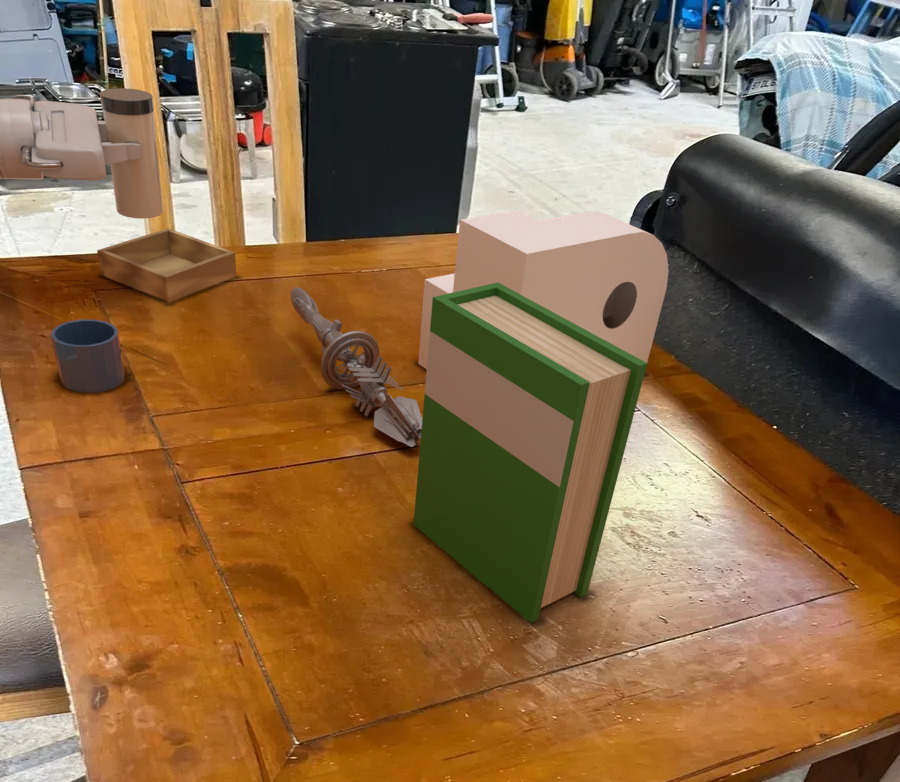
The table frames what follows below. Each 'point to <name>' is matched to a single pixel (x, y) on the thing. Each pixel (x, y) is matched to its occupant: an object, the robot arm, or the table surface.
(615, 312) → the stepped bracket block
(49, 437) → the table surface
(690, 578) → the table surface
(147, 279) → the tray
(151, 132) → the jar
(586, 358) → the hardback book
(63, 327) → the cup
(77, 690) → the table surface
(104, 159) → the robot arm
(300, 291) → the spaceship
